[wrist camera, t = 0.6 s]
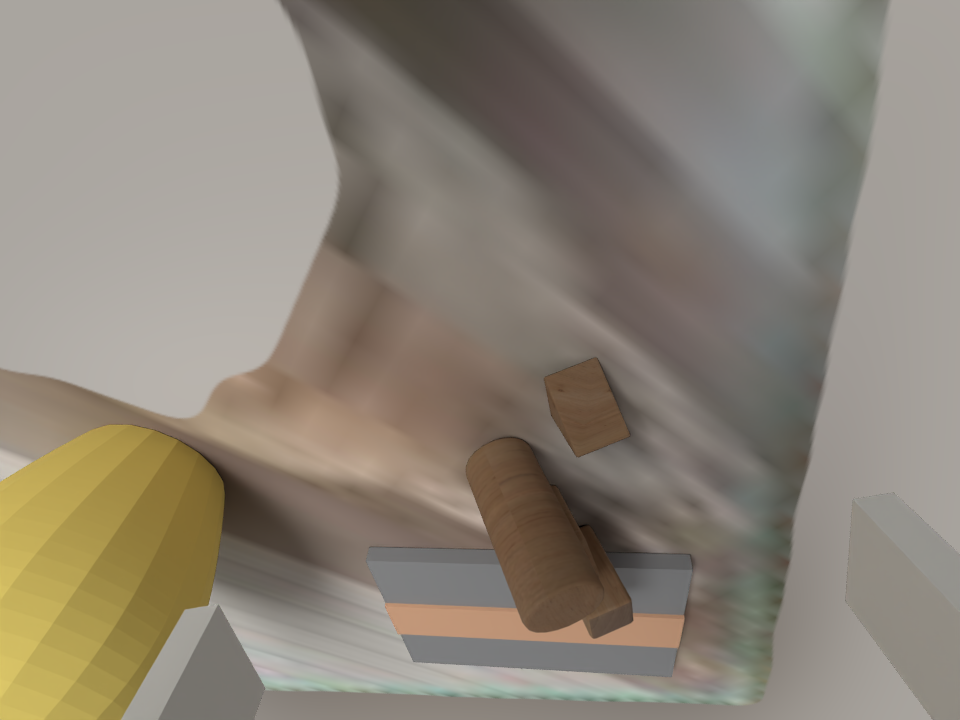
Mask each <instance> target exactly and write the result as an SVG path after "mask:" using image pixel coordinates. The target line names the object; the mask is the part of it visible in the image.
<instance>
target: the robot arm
mask: <svg viewBox="0 0 960 720" xmlns="http://www.w3.org/2000/svg"><path fill="white" fill-rule="evenodd" d="M845 601H846V602H847V604H848V605H849V606H850V608H851V609H852V611H853V612H854V613H855V615H856V616H857V617H858V619H859V620H860V622H861V623H862V624H863V626H864V627H865V628H866V630H867V631H868V632H869V634H870V635H871V637H872V638H873V639H874V640H875V642H876V643H877V645H878V646H879V647H880V649H881V650H882V651H883V653H884V654H885V656H886V657H887V658H888V660H889V661H890V662H891V664H892V665H893V666H894V668H895V669H896V671H897V672H898V673H899V675H900V676H901V677H902V679H903V680H904V681H905V683H906V684H907V685H908V687H909V688H910V689H911V691H912V692H913V694H914V695H915V696H916V698H917V699H918V700H919V702H920V703H921V704H922V706H923V707H924V709H925V710H926V711H927V713H928V714H929V715H930V717H931V718H932V719H933V720H960V554H959V553H958V552H957V551H956V550H955V549H954V548H952V546H950V545H949V544H948V543H947V542H946V541H945V540H944V539H943V538H942V537H941V536H940V535H939V534H938V533H937V532H936V531H934V530H933V529H932V528H931V527H930V526H929V525H928V524H927V523H926V522H925V521H924V520H923V519H922V518H921V517H920V516H918V515H917V514H916V513H915V512H914V511H913V510H912V509H911V508H910V507H909V506H908V505H907V504H905V502H904V501H903V500H901V499H900V498H899V497H898V496H897V495H896V494H895V493H894V492H893V493H887V494H881V495H875V496H869V497H863V498H857V499H853V502H852V517H851V531H850V544H849V558H848V571H847V584H846V599H845ZM264 690H265V687H264V685H263V683H262V681H261V679H260V678H259V676H258V674H257V672H256V670H255V669H254V667H253V665H252V663H251V662H250V660H249V658H248V656H247V654H246V653H245V651H244V649H243V647H242V645H241V644H240V642H239V640H238V638H237V637H236V635H235V633H234V631H233V629H232V628H231V626H230V624H229V622H228V620H227V619H226V617H225V615H224V613H223V612H222V610H221V608H220V606H219V604H215V605H209V606H203V607H197V608H191V609H185V610H184V612H183V614H182V615H181V617H180V619H179V621H178V622H177V624H176V626H175V627H174V629H173V631H172V633H171V634H170V636H169V638H168V640H167V641H166V643H165V645H164V646H163V648H162V650H161V652H160V653H159V655H158V657H157V658H156V660H155V662H154V664H153V665H152V667H151V669H150V670H149V672H148V674H147V676H146V677H145V679H144V681H143V683H142V684H141V686H140V688H139V689H138V691H137V693H136V695H135V696H134V698H133V700H132V701H131V703H130V705H129V707H128V708H127V710H126V712H125V713H124V715H123V717H122V719H121V720H254V718H255V715H256V712H257V710H258V707H259V704H260V701H261V699H262V695H263V693H264Z"/></svg>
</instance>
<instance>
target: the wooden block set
mask: <svg viewBox="0 0 960 720" xmlns="http://www.w3.org/2000/svg"><path fill="white" fill-rule="evenodd" d="M544 381H545V386H546V391H547V396H548V402H549V407H550V412H551V416H552V418H553V419H554V421H555V422H556V424H557V426H558V427H559V429H560V431H561V432H562V434H563V436H564V437H565V439H566V441H567V442H568V444H569V446H570V447H571V449H572V451H573V452H574V454H575V455H576V457H580V456H583V455H585V454H588V453H590V452H593V451H595V450H598V449H600V448H603V447H605V446H608V445H610V444H613V443H615V442H618V441H620V440H623V439H625V438H627V437H630V433H629V431H628V429H627V426H626V424H625V422H624V419H623V417H622V415H621V412H620V410H619V408H618V405H617V403H616V401H615V398H614V396H613V394H612V391H611V389H610V387H609V384H608V382H607V380H606V377H605V375H604V373H603V370H602V368H601V366H600V363H599V361H598V359H597V358H593V359H590V360H587V361H585V362H582V363H580V364H577V365H575V366H572V367H569V368H567V369H564V370H562V371H559V372H556V373H554V374H551V375H549V376H546V377H545V378H544ZM466 476H467V479H468V482H469V484H470V487H471V490H472V492H473V495H474V497H475V500H476V503H477V505H478V508H479V511H480V513H481V516H482V518H483V521H484V524H485V526H486V529H487V532H488V534H489V537H490V539H491V542H492V545H493V547H494V550H495V553H496V555H497V558H498V560H499V563H500V566H501V568H502V571H503V574H504V576H505V579H506V581H507V584H508V587H509V589H510V592H511V595H512V597H513V600H514V602H515V605H516V608H517V610H518V613H519V615H520V618H521V621H522V623H523V624H524V625H525V627H526V628H527V629H528V630H529V631H532V632H536V633H547V632H551V631H556V630H559V629H562V628H565V627H568V626H570V625H572V624H574V623H576V622H578V621H580V620H583V622H584V624H585V626H586V628H587V631H588V633H589V635H590V636H591V637H592V638H593V639H596V638H599V637H601V636H603V635H605V634H608V633H610V632H612V631H615V630H617V629H619V628H621V627H624V626H626V625H628V624H630V623H632V622H633V621H634V620H633V608H632V599H631V597H630V596H629V594H628V592H627V590H626V588H625V587H624V585H623V583H622V581H621V580H620V578H619V576H618V574H617V572H616V571H615V569H614V567H613V565H612V563H611V562H610V560H609V558H608V556H607V554H606V553H605V551H604V549H603V547H602V545H601V544H600V542H599V540H598V538H597V537H596V535H595V533H594V531H593V529H592V528H591V527H590V526H589V525H586V526H583V527H581V528H579V527H578V525H577V523H576V521H575V519H574V517H573V515H572V514H571V512H570V510H569V508H568V506H567V504H566V502H565V501H564V499H563V497H562V495H561V493H560V491H559V489H558V488H557V487H556V486H555V485H552V486H550V484H549V482H548V480H547V478H546V477H545V475H544V473H543V471H542V469H541V467H540V465H539V463H538V461H537V459H536V457H535V456H534V454H533V452H532V450H531V448H530V446H529V445H528V444H527V443H526V442H524V441H522V440H521V439H517V438H501V439H498V440H494V441H491V442H489V443H488V444H486V445H484V446H482V447H481V448H479V449H478V450H477V451H476V452H474V453H473V455H472V456H471V457H470V459H469V460H468V463H467V465H466Z"/></svg>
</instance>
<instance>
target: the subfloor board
mask: <svg viewBox="0 0 960 720" xmlns="http://www.w3.org/2000/svg"><path fill="white" fill-rule="evenodd" d="M606 554H607V556H608V558H609V560H610V562H611V563H612V565H613V567H614V569H615V571H616V572H617V574H618V576H619V578H620V580H621V581H622V583H623V585H624V587H625V588H626V590H627V592H628V594H629V596H630V597H631V599H632V608H633V620H634V621H633V622H632V623H630V624H628V625H626V626H624V627H621V628H619V629H617V630H615V631H612V632H610V633H608V634H605V635H603V636H601V637H599V638H596V639H593V638H592V637H591V636H590V635H589V633H588V631H587V628H586V626H585V624H584V622H583V620H580V621H578V622H576V623H574V624H572V625H570V626H568V627H565V628H562V629H559V630H556V631H551V632H547V633H536V632H532V631H529V630H528V629H527V628H526V627H525V625H524V624H523V623H522V621H521V618H520V615H519V613H518V610H517V608H516V605H515V602H514V600H513V597H512V595H511V592H510V589H509V587H508V584H507V581H506V579H505V576H504V574H503V571H502V568H501V566H500V563H499V560H498V558H497V555H496V553H495V550H476V549H434V548H391V547H370V548H369V551H368V555H367V558H366V562H367V565H368V567H369V569H370V571H371V573H372V575H373V577H374V579H375V581H376V584H377V586H378V588H379V590H380V592H381V594H382V596H383V598H384V600H385V603H386V604H385V608H386V610H387V612H388V614H389V616H390V618H391V620H392V622H393V624H394V627H395V629H396V631H397V633H398V634H401V636H402V638H403V641H404V643H405V645H406V647H407V649H408V651H409V653H410V655H411V657H412V660H413V662H422V663H439V664H456V665H473V666H490V667H508V668H525V669H542V670H559V671H576V672H593V673H610V674H627V675H644V676H662V677H672V673H673V668H674V663H675V658H676V652H677V648H679V644H680V639H681V634H682V629H683V624H684V612H685V607H686V602H687V597H688V592H689V587H690V582H691V577H692V572H693V568H692V563H691V558H690V555H687V554H645V553H606Z"/></svg>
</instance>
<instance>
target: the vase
mask: <svg viewBox="0 0 960 720" xmlns="http://www.w3.org/2000/svg"><path fill="white" fill-rule="evenodd" d="M224 502H225V491H224V484H223V481H222V479H221V477H220V476H219V474H218V473H217V471H216V469H215V468H214V467H213V466H212V465H211V464H210V463H209V462H208V461H207V460H206V459H205V458H204V457H203V456H202V455H201V454H200V453H198V452H197V451H195V450H193V449H192V448H190V447H189V446H187V445H185V444H184V443H182V442H181V441H179V440H177V439H175V438H172V437H170V436H167V435H165V434H162V433H160V432H158V431H155V430H151V429H147V428H142V427H138V426H133V425H106V426H103V427H99V428H96V429H93V430H91V431H89V432H87V433H85V434H83V435H81V436H79V437H77V438H75V439H73V440H72V441H70V442H68V443H66V444H64V445H62V446H61V447H59V448H57V449H55V450H53V451H52V452H50V453H48V454H46V455H44V456H43V457H41V458H39V459H38V460H36V461H34V462H32V463H31V464H29V465H27V466H26V467H24V468H22V469H21V470H19V471H17V472H16V473H14V474H12V475H11V476H9V477H7V478H6V479H4V480H3V481H1V482H0V720H121V719H122V717H123V715H124V713H125V712H126V710H127V708H128V707H129V705H130V703H131V701H132V700H133V698H134V696H135V695H136V693H137V691H138V689H139V688H140V686H141V684H142V683H143V681H144V679H145V677H146V676H147V674H148V672H149V670H150V669H151V667H152V665H153V664H154V662H155V660H156V658H157V657H158V655H159V653H160V652H161V650H162V648H163V646H164V645H165V643H166V641H167V640H168V638H169V636H170V634H171V633H172V631H173V629H174V627H175V626H176V624H177V622H178V621H179V619H180V617H181V615H182V614H183V612H184V610H185V609H191V608H197V607H203V606H208V604H209V600H210V596H211V591H212V586H213V581H214V576H215V571H216V565H217V559H218V553H219V546H220V539H221V531H222V523H223V513H224Z"/></svg>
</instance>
